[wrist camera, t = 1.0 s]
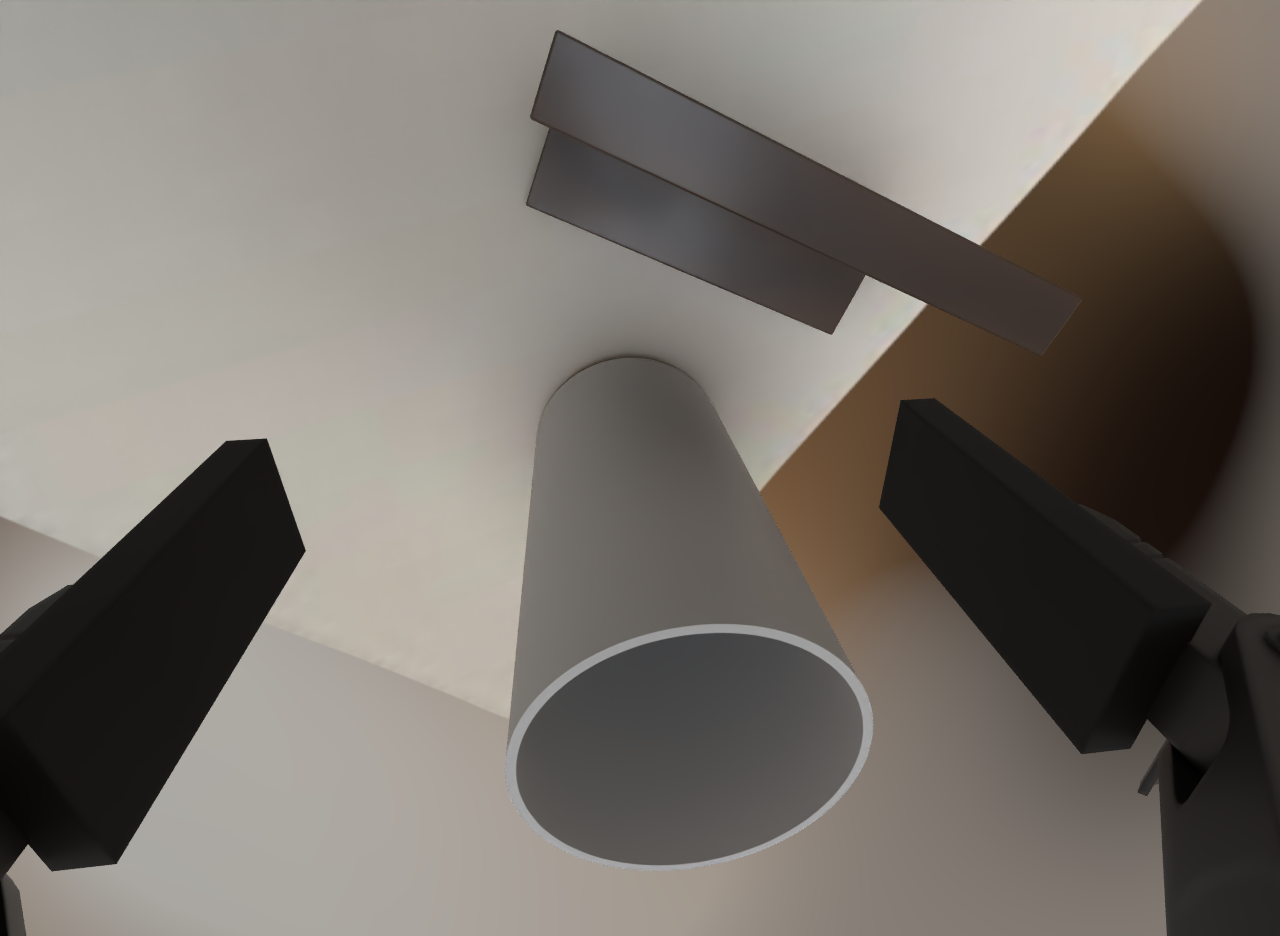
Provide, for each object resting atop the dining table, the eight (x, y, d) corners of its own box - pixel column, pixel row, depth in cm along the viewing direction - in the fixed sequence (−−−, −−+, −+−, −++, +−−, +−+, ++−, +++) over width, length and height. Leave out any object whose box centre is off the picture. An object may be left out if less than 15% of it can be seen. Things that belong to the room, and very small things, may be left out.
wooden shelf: (560, 74, 32) (556, 28, 17) (881, 232, 38) (1084, 298, 23) (521, 199, 35) (489, 252, 20) (826, 330, 41) (977, 446, 26)
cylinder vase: (722, 350, 40) (907, 609, 19) (712, 512, 46) (841, 851, 25) (529, 356, 39) (483, 640, 17) (543, 521, 45) (523, 886, 23)
